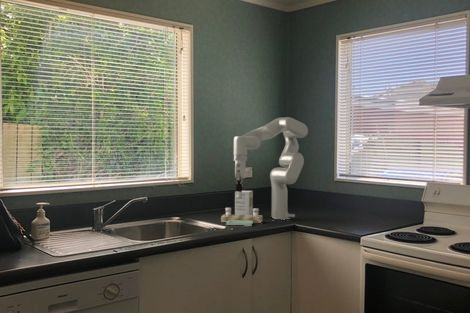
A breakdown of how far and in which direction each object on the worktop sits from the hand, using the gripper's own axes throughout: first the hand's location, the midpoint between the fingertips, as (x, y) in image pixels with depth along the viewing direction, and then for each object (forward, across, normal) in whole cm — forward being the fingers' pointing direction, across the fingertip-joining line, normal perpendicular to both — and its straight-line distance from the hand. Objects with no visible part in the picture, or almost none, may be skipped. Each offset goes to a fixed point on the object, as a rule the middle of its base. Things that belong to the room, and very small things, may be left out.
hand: (239, 190), depth 265 cm
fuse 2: (+19, +9, -8) cm, 23 cm away
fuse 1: (+19, +9, +8) cm, 22 cm away
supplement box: (+20, +27, +1) cm, 33 cm away
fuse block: (+20, +9, 0) cm, 22 cm away
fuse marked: (+4, 0, 0) cm, 4 cm away
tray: (+20, 0, 0) cm, 20 cm away
